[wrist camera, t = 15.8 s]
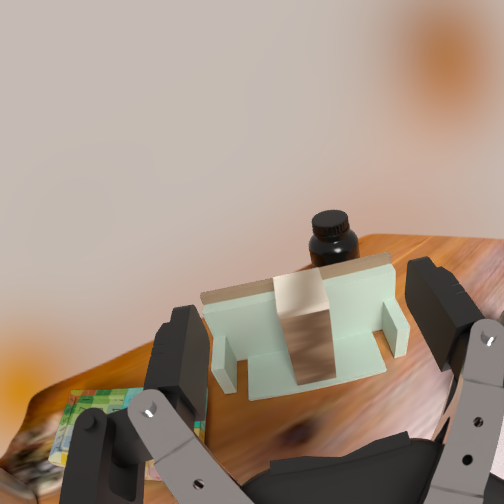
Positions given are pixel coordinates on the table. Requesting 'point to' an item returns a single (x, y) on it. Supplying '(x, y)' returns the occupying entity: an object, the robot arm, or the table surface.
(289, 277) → the brown wooden block
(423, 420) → the table surface
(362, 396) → the table surface
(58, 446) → the puzzle game
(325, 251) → the supplement bottle
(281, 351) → the mint green shelf
